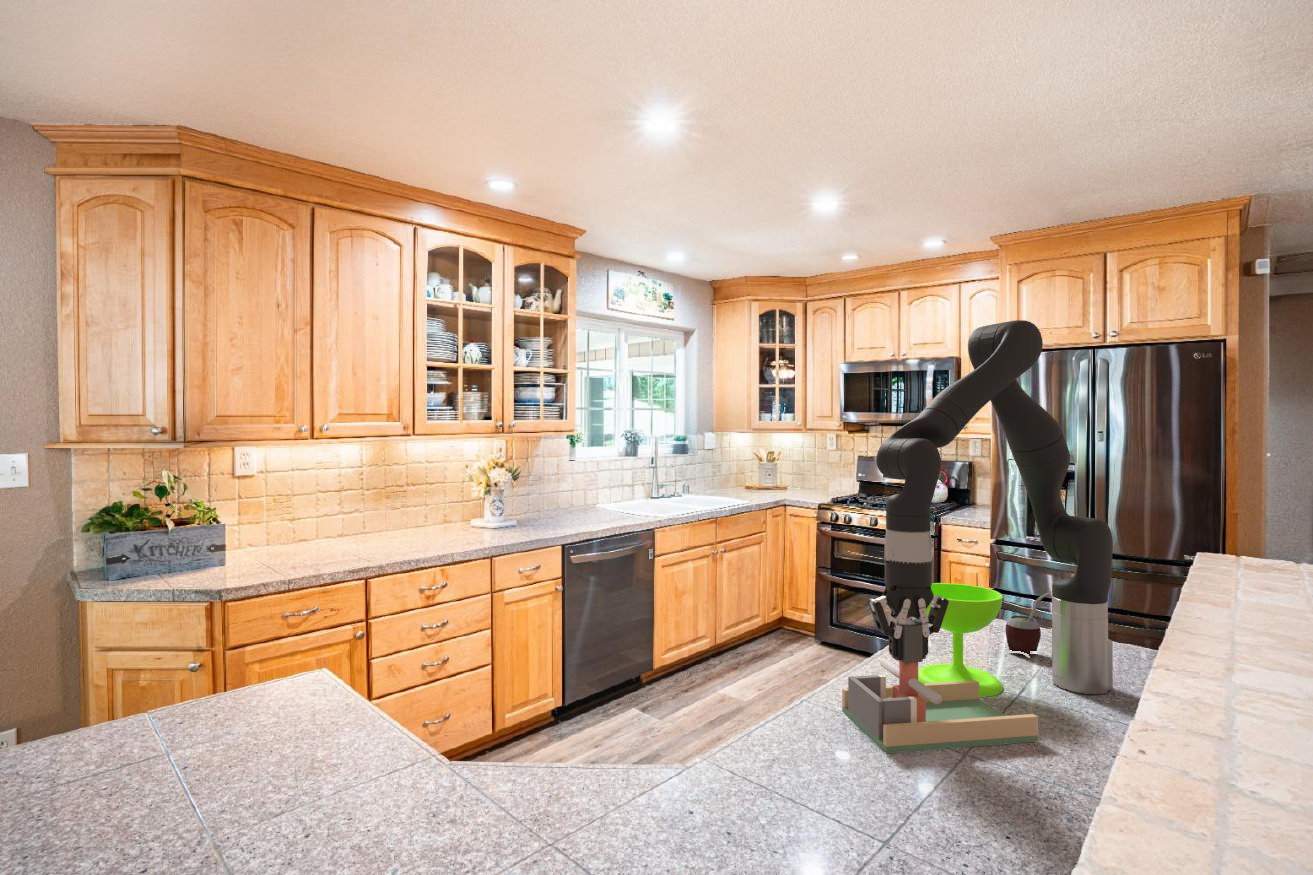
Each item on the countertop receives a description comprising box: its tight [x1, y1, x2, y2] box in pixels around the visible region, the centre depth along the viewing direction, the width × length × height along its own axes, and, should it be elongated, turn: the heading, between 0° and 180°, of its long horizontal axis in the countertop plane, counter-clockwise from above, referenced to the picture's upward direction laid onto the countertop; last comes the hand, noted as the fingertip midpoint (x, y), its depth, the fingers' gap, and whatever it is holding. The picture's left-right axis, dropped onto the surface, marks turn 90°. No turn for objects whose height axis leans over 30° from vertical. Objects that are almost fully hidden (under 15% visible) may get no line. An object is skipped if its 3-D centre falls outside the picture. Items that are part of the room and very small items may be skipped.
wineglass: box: [918, 582, 1004, 698], centre depth 132 cm, size 16×16×18 cm
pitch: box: [841, 674, 1039, 754], centre depth 111 cm, size 26×16×7 cm, turn 98°
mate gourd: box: [1004, 591, 1052, 654], centre depth 148 cm, size 8×8×15 cm
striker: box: [879, 620, 942, 722], centre depth 111 cm, size 3×17×16 cm, turn 8°
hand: (908, 657), depth 111 cm, fingers open, 3 cm apart
